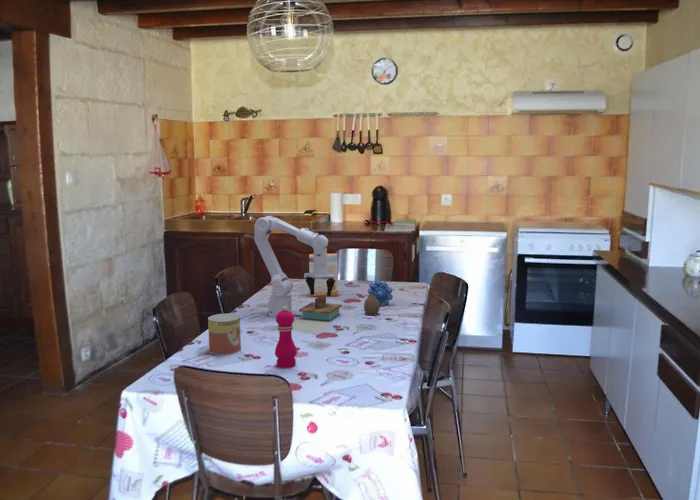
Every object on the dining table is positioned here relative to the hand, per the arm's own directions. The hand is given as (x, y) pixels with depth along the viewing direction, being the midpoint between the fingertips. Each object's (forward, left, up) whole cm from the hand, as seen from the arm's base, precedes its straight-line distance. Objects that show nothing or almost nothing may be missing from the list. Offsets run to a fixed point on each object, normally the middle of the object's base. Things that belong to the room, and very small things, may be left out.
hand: (320, 295), depth 262 cm
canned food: (-16, -52, -10) cm, 55 cm away
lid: (0, -1, -6) cm, 6 cm away
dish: (0, 0, -10) cm, 10 cm away
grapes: (+18, +28, -10) cm, 35 cm away
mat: (0, -15, -10) cm, 18 cm away
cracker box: (-15, +40, -10) cm, 44 cm away
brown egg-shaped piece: (+19, +12, -10) cm, 25 cm away
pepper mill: (+12, -60, -10) cm, 62 cm away
